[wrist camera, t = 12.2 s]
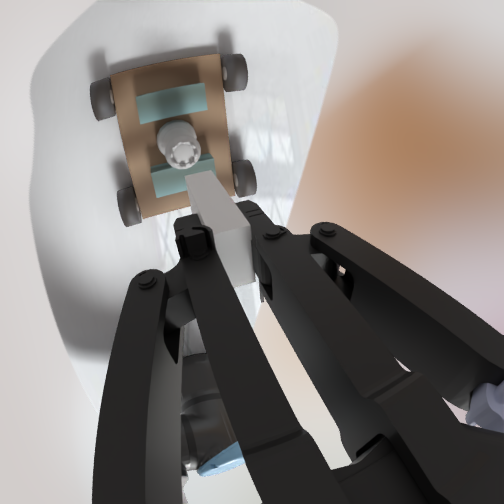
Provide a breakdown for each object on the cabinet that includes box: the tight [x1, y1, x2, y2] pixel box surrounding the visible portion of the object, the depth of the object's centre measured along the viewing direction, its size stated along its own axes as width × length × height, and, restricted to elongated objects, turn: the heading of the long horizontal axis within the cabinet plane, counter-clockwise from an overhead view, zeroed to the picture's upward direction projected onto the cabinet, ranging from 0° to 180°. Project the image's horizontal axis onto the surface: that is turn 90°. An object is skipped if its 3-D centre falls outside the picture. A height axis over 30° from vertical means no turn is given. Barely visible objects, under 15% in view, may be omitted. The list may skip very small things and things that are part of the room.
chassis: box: [90, 54, 257, 227], centre depth 28 cm, size 18×16×4 cm
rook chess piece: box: [157, 120, 201, 169], centre depth 25 cm, size 4×4×8 cm
